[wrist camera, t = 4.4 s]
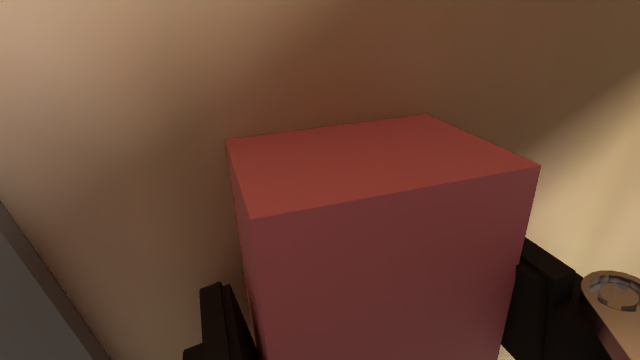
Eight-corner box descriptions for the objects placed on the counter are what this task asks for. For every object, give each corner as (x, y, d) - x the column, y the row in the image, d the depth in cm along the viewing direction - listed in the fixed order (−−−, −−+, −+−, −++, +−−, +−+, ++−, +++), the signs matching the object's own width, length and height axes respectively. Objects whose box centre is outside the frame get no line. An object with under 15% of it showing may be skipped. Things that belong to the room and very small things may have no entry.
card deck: (425, 113, 11) (541, 165, 7) (406, 337, 14) (477, 443, 11) (225, 139, 9) (250, 219, 6) (259, 381, 13) (287, 520, 9)
